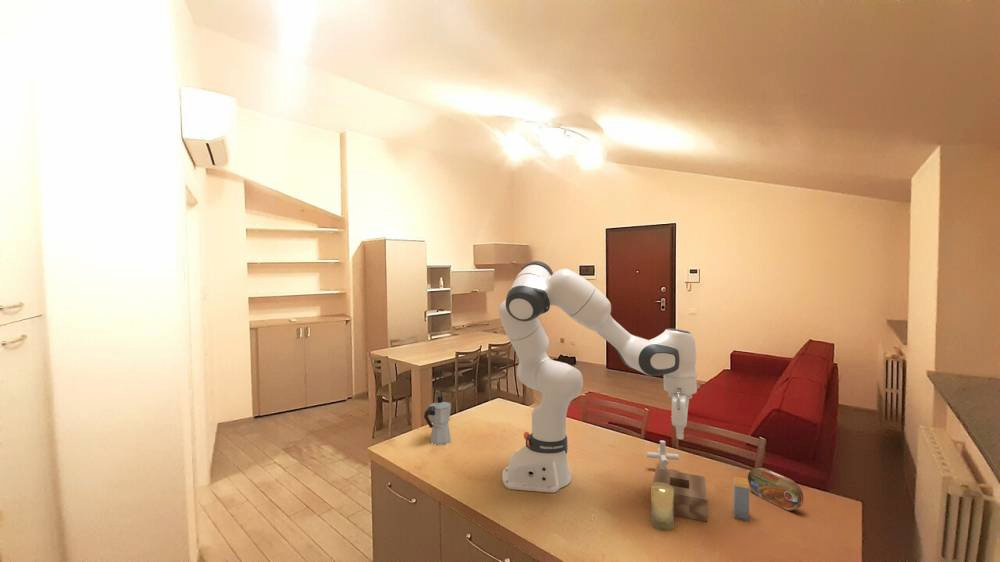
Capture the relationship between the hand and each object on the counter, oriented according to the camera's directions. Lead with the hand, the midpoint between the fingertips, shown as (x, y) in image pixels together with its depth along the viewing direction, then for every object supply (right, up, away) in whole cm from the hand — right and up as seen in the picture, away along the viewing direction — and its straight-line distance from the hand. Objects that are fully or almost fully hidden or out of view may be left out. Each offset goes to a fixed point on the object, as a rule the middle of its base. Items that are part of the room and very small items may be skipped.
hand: (680, 432), depth 123 cm
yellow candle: (-9, -21, -9) cm, 25 cm away
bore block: (0, -21, +1) cm, 21 cm away
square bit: (+14, -21, -6) cm, 26 cm away
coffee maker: (-77, -21, +47) cm, 92 cm away
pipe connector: (+3, -21, +21) cm, 30 cm away
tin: (+28, -21, +2) cm, 35 cm away
